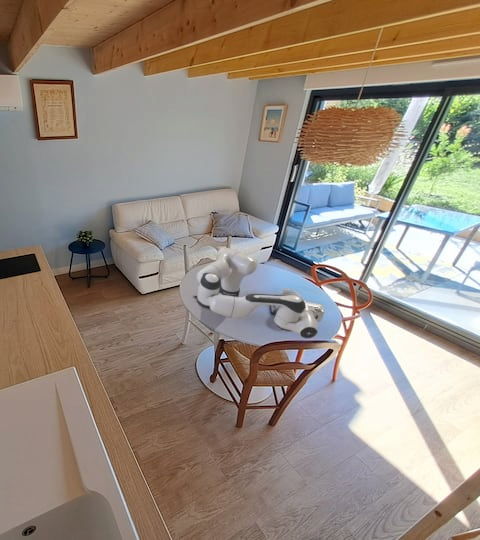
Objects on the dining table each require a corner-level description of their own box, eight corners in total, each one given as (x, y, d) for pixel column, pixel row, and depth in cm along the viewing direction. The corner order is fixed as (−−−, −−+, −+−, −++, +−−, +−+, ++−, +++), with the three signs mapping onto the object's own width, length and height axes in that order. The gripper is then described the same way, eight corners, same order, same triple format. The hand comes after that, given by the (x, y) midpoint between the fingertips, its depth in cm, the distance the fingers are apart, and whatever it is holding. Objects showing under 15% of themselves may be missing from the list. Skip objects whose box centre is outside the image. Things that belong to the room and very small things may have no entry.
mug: (297, 321, 174) (304, 304, 167) (277, 318, 177) (283, 300, 170) (292, 307, 186) (298, 290, 180) (274, 304, 189) (279, 287, 183)
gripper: (279, 313, 150) (276, 299, 161) (323, 322, 143) (318, 306, 155) (282, 304, 147) (279, 290, 158) (328, 312, 140) (322, 297, 152)
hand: (298, 298), depth 156 cm, fingers closed
